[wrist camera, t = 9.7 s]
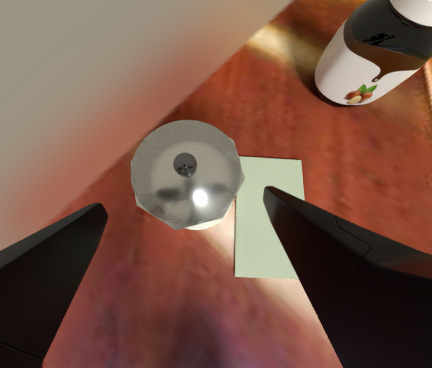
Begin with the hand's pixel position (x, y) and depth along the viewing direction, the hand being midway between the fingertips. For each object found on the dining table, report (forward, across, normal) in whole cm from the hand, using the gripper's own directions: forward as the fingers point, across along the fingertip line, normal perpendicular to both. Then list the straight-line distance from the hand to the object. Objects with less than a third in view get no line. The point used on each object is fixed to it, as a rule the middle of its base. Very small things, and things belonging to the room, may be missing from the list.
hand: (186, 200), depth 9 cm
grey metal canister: (+9, 0, +6) cm, 11 cm away
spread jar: (+21, -25, -5) cm, 33 cm away
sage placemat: (+7, -9, +9) cm, 14 cm away
